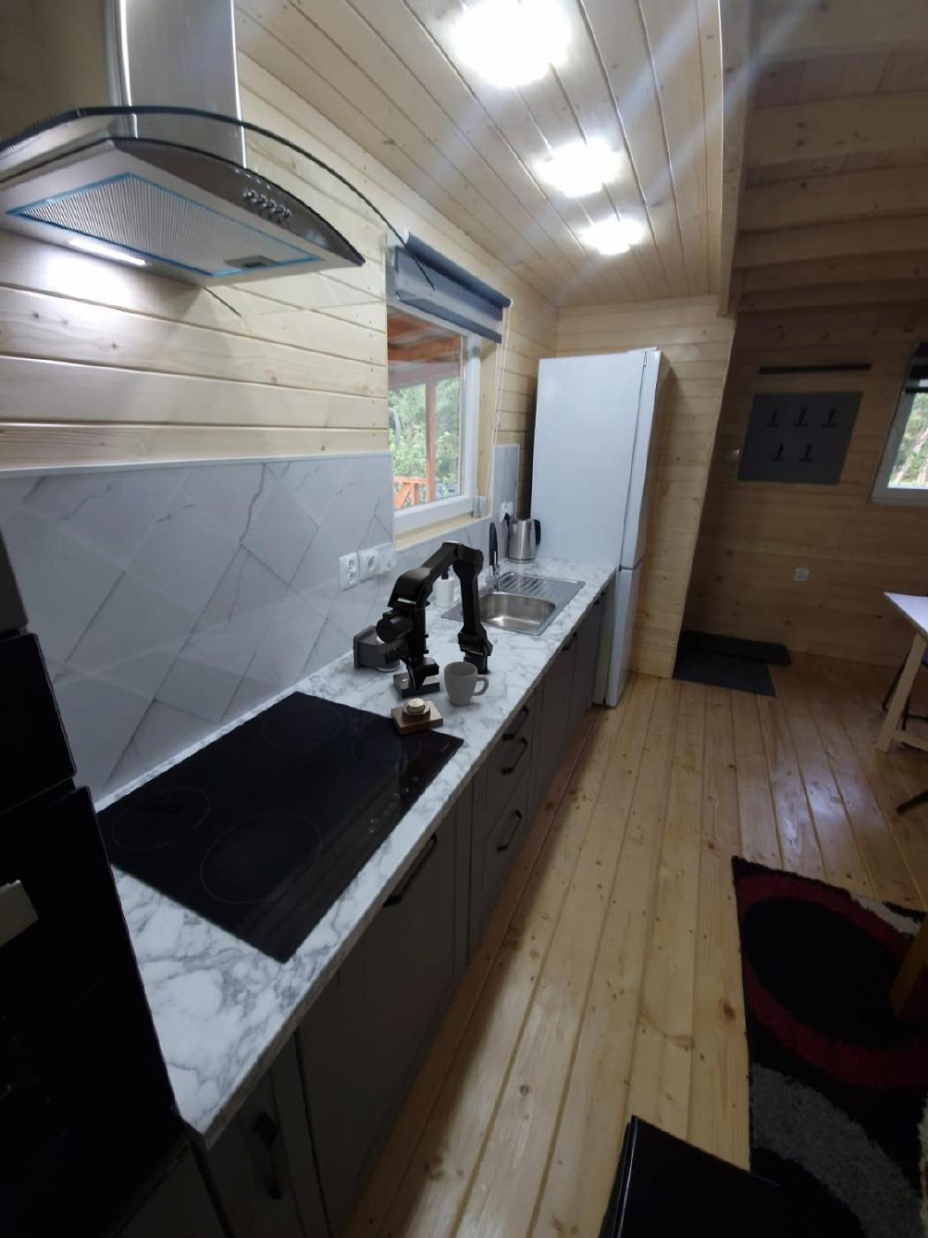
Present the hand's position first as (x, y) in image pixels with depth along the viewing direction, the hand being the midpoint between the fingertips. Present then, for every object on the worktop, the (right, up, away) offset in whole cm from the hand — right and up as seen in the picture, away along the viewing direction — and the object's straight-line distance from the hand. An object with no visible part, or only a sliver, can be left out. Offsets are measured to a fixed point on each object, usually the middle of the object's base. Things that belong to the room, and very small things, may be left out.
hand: (415, 686), depth 122 cm
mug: (+13, -6, +13) cm, 19 cm away
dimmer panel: (-2, -3, +19) cm, 20 cm away
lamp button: (0, -6, +2) cm, 6 cm away
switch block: (0, -9, +4) cm, 10 cm away
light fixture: (-14, +2, +32) cm, 35 cm away
